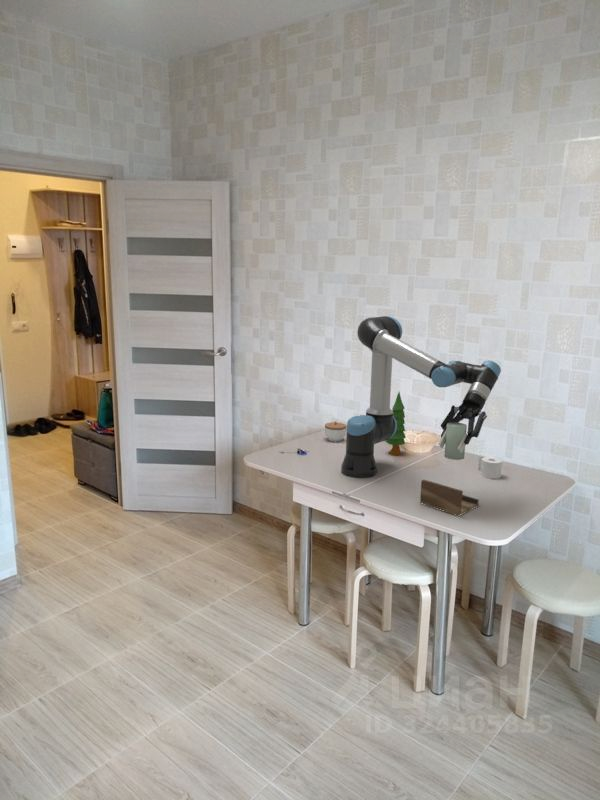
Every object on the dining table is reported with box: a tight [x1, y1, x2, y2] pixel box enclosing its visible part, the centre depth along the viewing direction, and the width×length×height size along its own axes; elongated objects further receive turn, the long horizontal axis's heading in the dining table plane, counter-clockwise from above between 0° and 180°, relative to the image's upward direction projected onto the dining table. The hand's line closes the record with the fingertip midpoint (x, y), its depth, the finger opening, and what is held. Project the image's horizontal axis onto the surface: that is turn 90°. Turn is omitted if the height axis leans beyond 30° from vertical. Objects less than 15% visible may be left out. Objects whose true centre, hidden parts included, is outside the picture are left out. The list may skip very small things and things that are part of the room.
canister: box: [444, 422, 468, 461], centre depth 221 cm, size 7×7×12 cm
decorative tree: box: [385, 391, 406, 456], centre depth 284 cm, size 10×9×30 cm
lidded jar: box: [324, 421, 347, 443], centre depth 305 cm, size 11×11×9 cm
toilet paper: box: [477, 456, 503, 480], centre depth 258 cm, size 8×11×7 cm
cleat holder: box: [419, 479, 480, 516], centre depth 224 cm, size 14×16×9 cm
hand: (449, 448), depth 219 cm, fingers closed on canister, 7 cm apart
